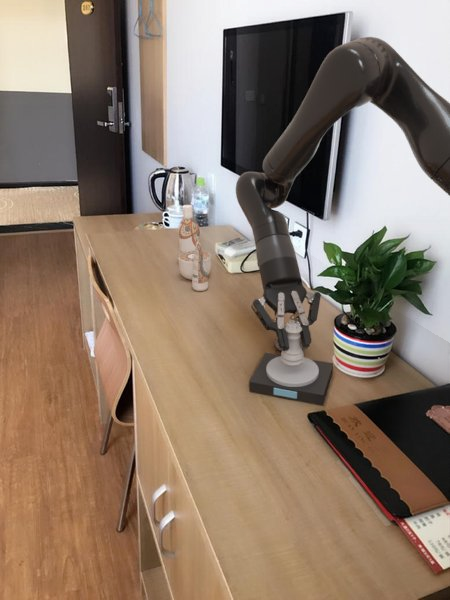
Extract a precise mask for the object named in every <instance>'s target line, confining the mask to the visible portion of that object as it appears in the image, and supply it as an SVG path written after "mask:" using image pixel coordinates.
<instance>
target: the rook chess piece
mask: <svg viewBox="0 0 450 600" xmlns="http://www.w3.org/2000/svg"><path fill="white" fill-rule="evenodd" d="M284 329H286V332H287V338H288V343H289V350H288V351H281V353H280V355H281V361H282V362H283V363H284V364H285V365H288V366H298V365H300V364H301V363H302V362H303V361H304V357H305V354H304V353H305V352H304V350H302V349H301V348H300V341H299V338H300V337H301V335H300V334H299V333H300V332H301V330H302V327H301V326H300V324H299V322H297V323H295V321H293V320H292V321H290V320H289V321H287V322H286V325H284Z"/></svg>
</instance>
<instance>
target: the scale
mask: <svg viewBox="0 0 450 600" xmlns="http://www.w3.org/2000/svg"><path fill="white" fill-rule="evenodd" d="M333 373H334V363H333V362H328V361H323V360H316V359H310V358H308V357H305V356H304V361H303V362H302V363H301V364H300V365H298V366H288V365H285V364H284V363H283V362H282V361H281V354H278V353H272V352H264V354H263V356H262V357H261V359H260V361H259V363H258V364H257V367H256V368H255V370H254V372H253V374H252V376H251V377H250V379H249V381H248V389H249V390H248V392H249V393H253V394H259V395H264V396H270V397H275V398H280V399H286V400H290V401H291V400H292V401H296V402H297V401H298V402H302V403H307V404H313V405H317V406H324V403H325V400H326V398H327V394H328V390H329V387H330V385H331V380H332V376H333Z"/></svg>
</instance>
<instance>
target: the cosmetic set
mask: <svg viewBox="0 0 450 600" xmlns="http://www.w3.org/2000/svg"><path fill="white" fill-rule="evenodd" d="M182 215H183V217H182V219H181V221H180V222H179V225H178V230H177V237H178V249H179V255H178V268H179V273H180V274H181V276H182V277H184V278H185V279H187V280H190V281H191V286H192V289H193V290H194V291H197V292H204V291H206V290H208V288H209V277H208V276H209V275H210V273H211V270H212V257H211V254H210V253H209V252H207V251H203V249H202V246H201V230H200V226H199V224H198V222H197V220H196V219H195V217H194V215H193V205H191V204H183V205H182Z"/></svg>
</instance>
